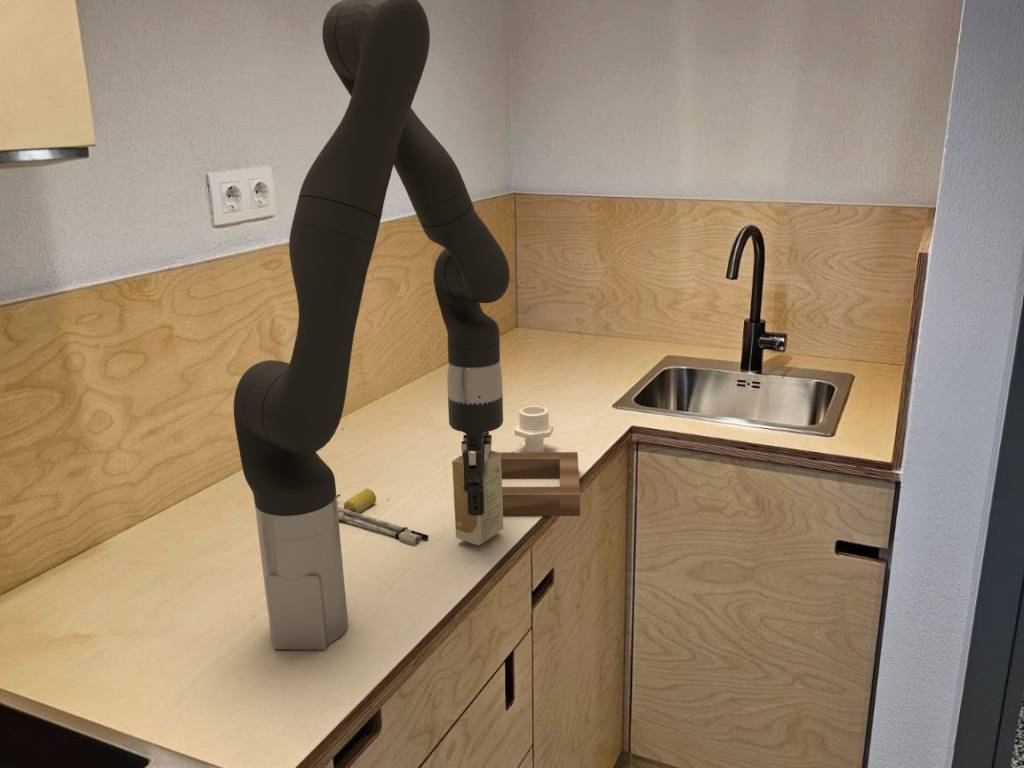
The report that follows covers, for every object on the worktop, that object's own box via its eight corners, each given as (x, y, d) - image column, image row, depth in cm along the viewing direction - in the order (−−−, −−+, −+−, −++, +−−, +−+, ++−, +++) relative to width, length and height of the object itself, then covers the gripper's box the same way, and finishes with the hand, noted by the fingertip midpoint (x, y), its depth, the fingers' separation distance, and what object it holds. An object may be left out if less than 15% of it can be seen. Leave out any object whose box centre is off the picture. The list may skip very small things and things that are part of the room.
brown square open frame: (580, 515, 136) (580, 494, 135) (468, 516, 137) (467, 495, 136) (577, 471, 152) (577, 452, 151) (477, 471, 153) (477, 452, 152)
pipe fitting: (559, 456, 159) (559, 413, 156) (521, 461, 157) (520, 418, 154) (547, 443, 164) (546, 402, 162) (510, 448, 162) (509, 407, 160)
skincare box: (480, 522, 133) (478, 445, 129) (504, 529, 130) (503, 451, 127) (453, 539, 128) (450, 459, 124) (477, 547, 125) (475, 466, 122)
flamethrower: (309, 484, 149) (264, 510, 141) (307, 470, 148) (262, 495, 140) (451, 527, 135) (410, 558, 127) (450, 511, 134) (409, 542, 126)
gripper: (499, 409, 116) (501, 525, 121) (505, 377, 129) (507, 482, 134) (441, 409, 116) (446, 524, 121) (453, 377, 130) (457, 482, 135)
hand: (478, 502), depth 128 cm, fingers closed on skincare box, 7 cm apart
